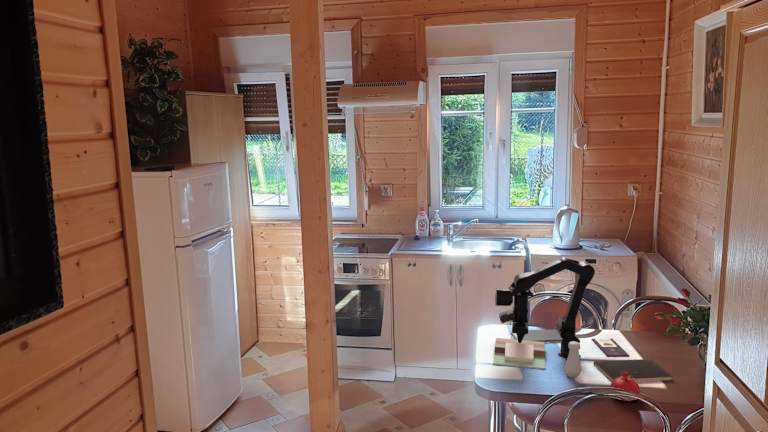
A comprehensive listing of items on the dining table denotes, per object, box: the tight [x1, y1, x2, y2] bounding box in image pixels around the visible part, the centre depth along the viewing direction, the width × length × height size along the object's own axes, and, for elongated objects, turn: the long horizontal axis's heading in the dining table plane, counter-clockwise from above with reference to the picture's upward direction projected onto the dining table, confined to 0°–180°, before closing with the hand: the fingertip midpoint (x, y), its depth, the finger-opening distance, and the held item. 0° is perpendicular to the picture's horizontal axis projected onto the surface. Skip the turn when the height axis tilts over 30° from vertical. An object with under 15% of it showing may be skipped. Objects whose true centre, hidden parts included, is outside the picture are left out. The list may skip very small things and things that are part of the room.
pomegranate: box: [609, 372, 642, 394], centre depth 204 cm, size 10×10×9 cm
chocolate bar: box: [591, 338, 630, 358], centre depth 249 cm, size 9×1×18 cm
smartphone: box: [510, 328, 581, 343], centre depth 261 cm, size 13×27×2 cm, turn 95°
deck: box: [494, 337, 546, 358], centre depth 245 cm, size 10×20×3 cm, turn 77°
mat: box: [492, 352, 546, 370], centre depth 236 cm, size 12×20×1 cm, turn 77°
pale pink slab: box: [505, 343, 533, 362], centre depth 237 cm, size 11×8×2 cm
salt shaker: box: [564, 341, 582, 379], centre depth 222 cm, size 6×6×13 cm
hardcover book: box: [593, 358, 673, 382], centre depth 225 cm, size 16×23×2 cm
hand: (519, 342), depth 241 cm, fingers closed
